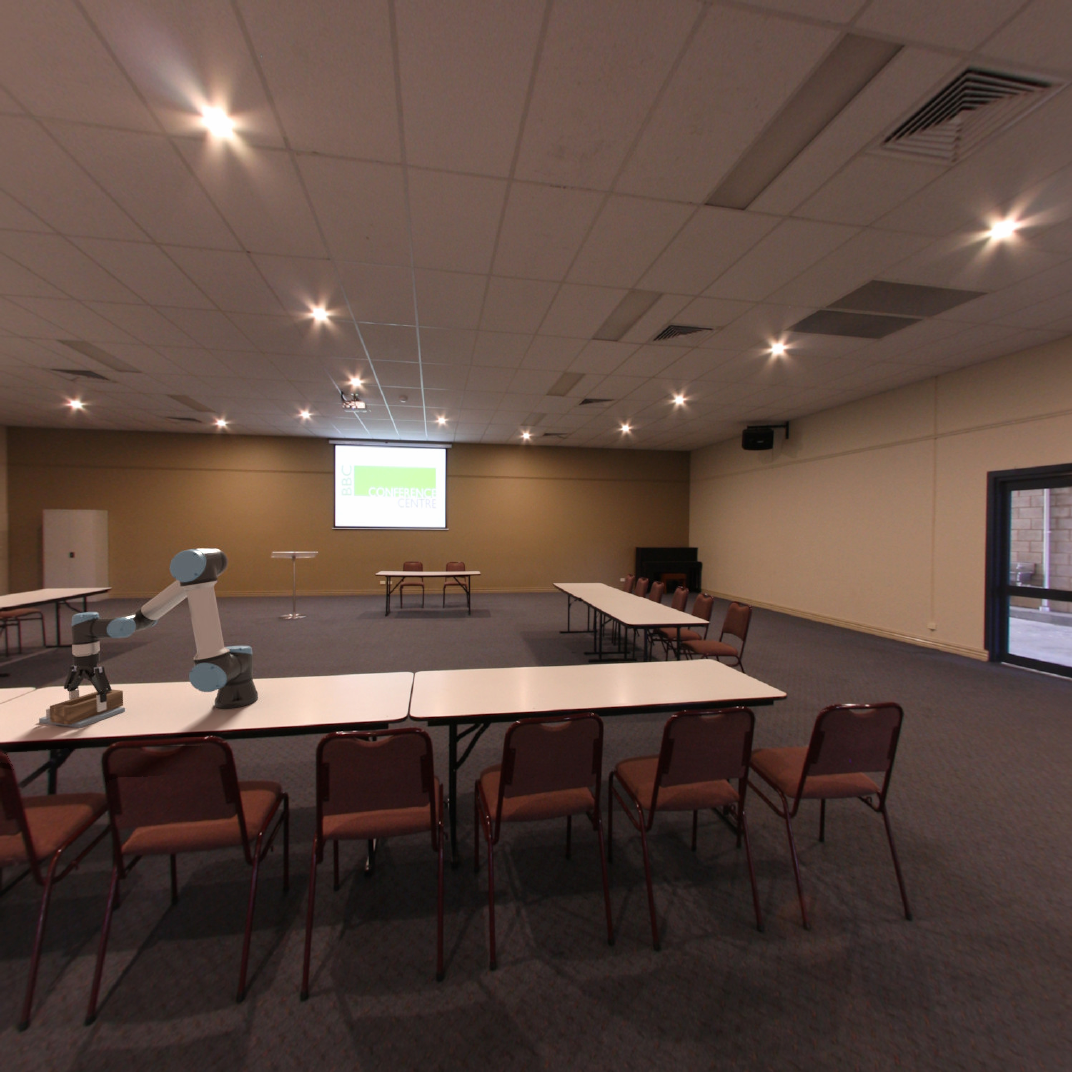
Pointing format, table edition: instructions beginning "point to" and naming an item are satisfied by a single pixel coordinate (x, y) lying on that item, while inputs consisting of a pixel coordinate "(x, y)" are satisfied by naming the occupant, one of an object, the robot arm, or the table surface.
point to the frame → (83, 707)
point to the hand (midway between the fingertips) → (88, 709)
